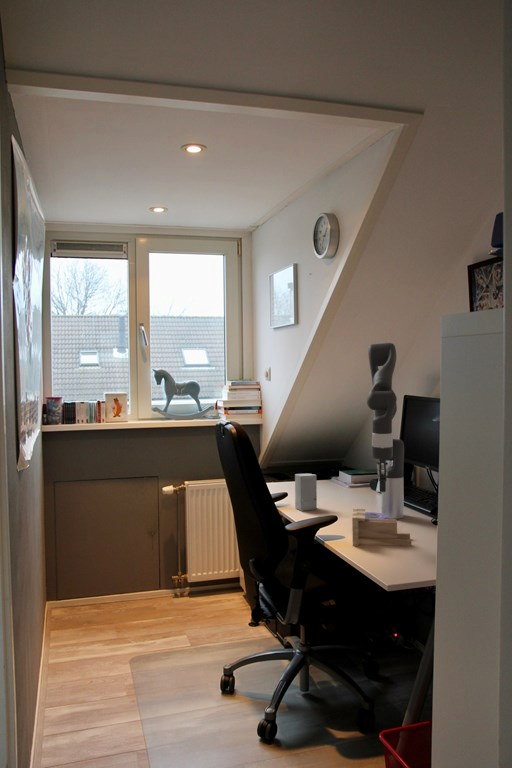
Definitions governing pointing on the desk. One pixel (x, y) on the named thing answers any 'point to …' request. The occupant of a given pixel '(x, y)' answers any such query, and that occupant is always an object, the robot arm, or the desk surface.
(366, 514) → the tape roll
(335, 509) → the desk surface
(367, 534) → the light brown wooden block
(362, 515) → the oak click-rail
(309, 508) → the skincare box
